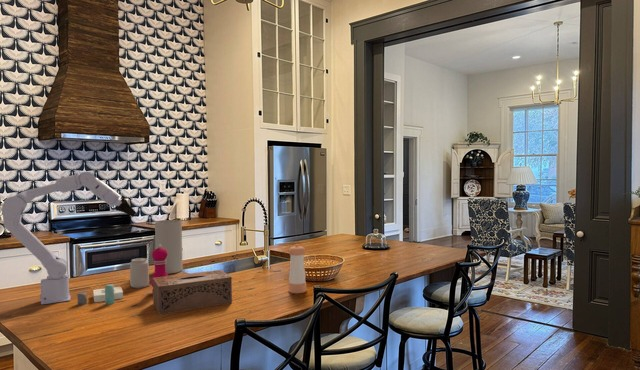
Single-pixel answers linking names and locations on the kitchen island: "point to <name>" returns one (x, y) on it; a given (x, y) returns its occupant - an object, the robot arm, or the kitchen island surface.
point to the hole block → (100, 294)
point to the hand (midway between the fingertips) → (133, 214)
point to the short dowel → (82, 298)
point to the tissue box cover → (191, 291)
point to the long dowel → (109, 294)
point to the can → (139, 273)
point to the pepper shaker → (297, 270)
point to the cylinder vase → (170, 243)
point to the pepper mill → (159, 262)
